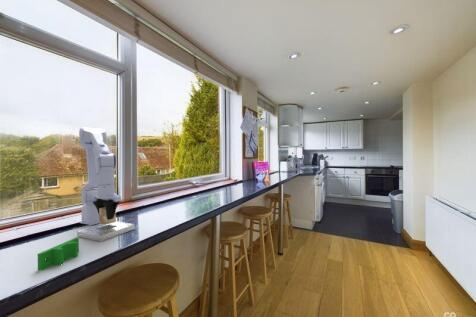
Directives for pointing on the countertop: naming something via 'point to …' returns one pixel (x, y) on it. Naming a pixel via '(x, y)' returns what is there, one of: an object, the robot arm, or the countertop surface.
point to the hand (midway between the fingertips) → (106, 218)
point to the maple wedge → (105, 217)
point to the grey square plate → (105, 231)
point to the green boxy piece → (58, 254)
